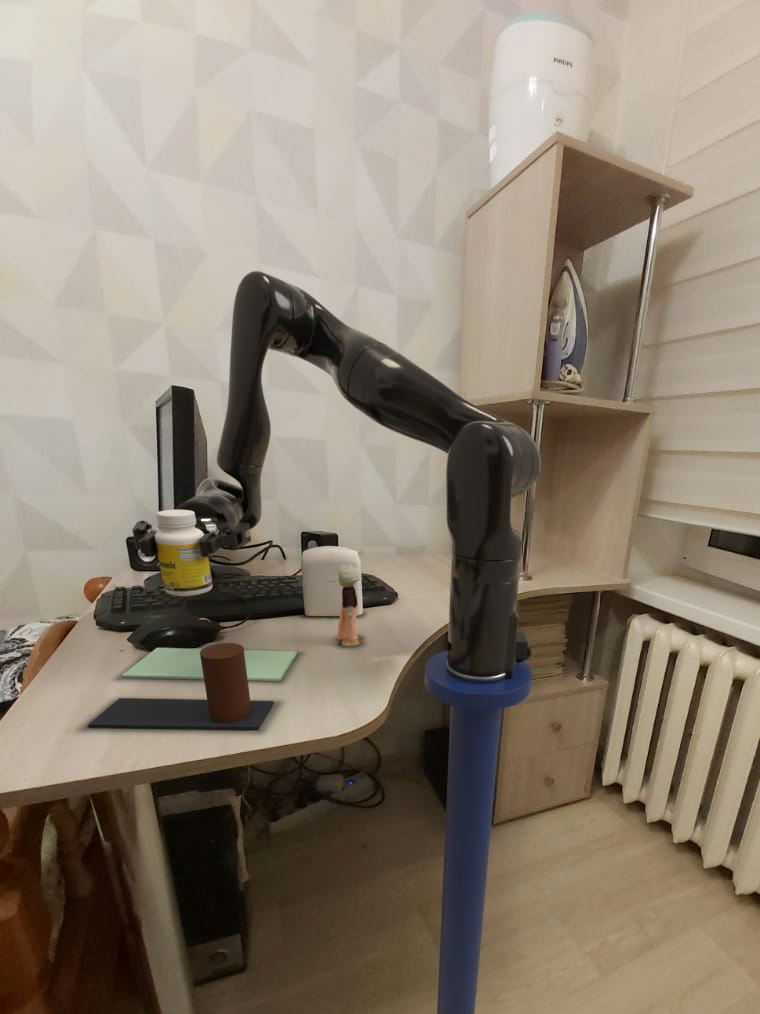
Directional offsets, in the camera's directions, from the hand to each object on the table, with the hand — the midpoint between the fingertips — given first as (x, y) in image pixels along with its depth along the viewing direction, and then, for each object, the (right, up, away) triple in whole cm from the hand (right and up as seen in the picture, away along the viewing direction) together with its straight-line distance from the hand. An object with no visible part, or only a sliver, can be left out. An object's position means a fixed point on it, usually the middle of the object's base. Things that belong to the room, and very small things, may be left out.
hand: (175, 548), depth 61 cm
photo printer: (+9, -6, +33) cm, 35 cm away
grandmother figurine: (+15, -11, +22) cm, 29 cm away
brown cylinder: (+7, -19, -1) cm, 21 cm away
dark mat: (+2, -20, -1) cm, 20 cm away
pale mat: (-1, -14, +11) cm, 18 cm away
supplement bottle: (-1, -5, +5) cm, 7 cm away
